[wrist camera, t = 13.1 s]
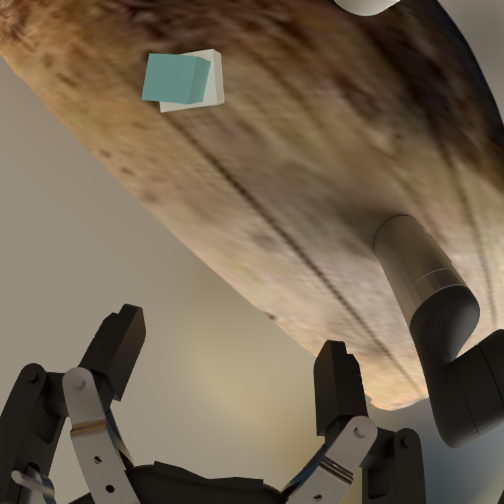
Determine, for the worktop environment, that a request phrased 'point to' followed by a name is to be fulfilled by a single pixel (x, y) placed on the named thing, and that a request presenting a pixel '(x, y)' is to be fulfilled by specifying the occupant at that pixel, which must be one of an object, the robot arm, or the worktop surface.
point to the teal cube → (175, 78)
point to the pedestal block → (213, 85)
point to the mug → (365, 6)
